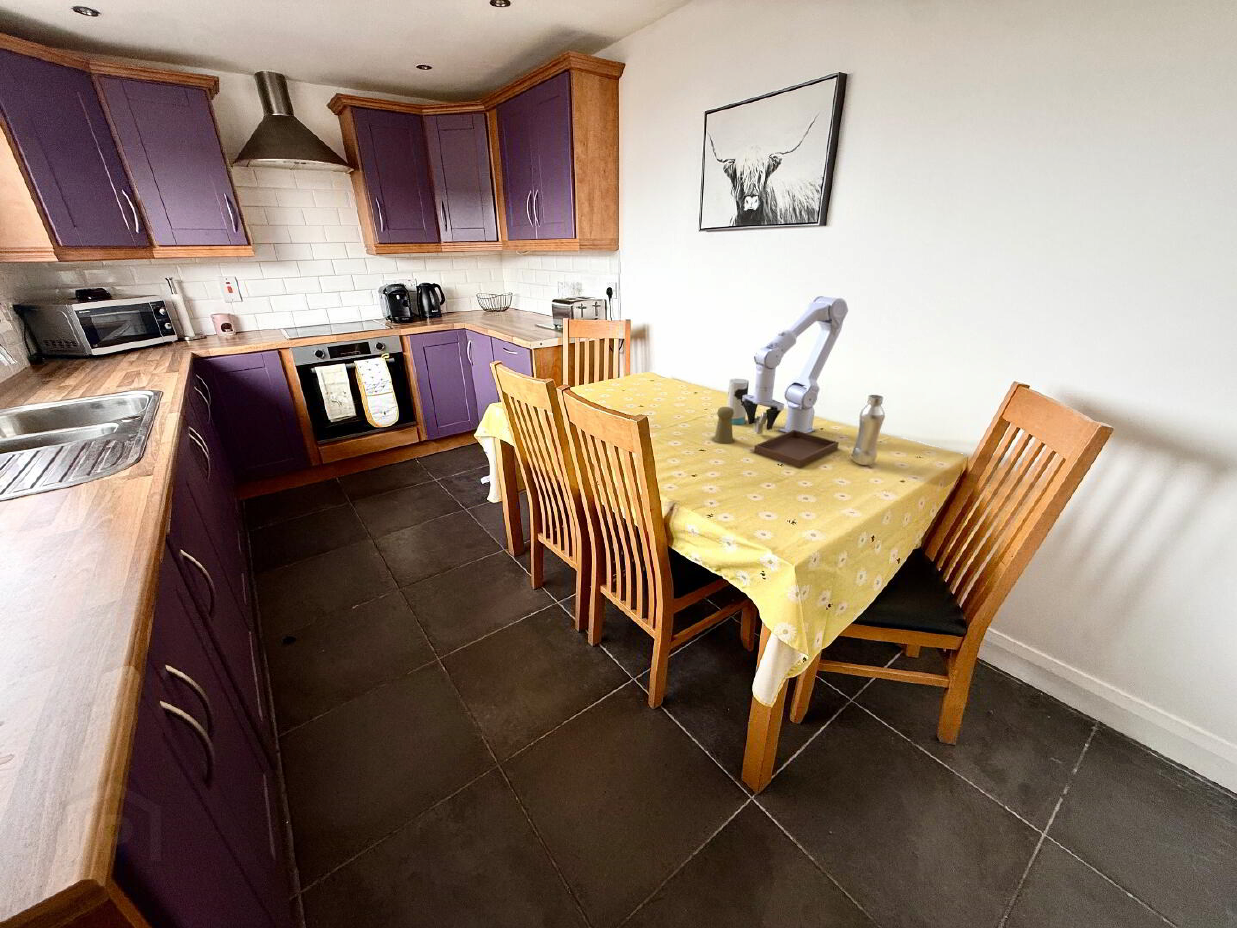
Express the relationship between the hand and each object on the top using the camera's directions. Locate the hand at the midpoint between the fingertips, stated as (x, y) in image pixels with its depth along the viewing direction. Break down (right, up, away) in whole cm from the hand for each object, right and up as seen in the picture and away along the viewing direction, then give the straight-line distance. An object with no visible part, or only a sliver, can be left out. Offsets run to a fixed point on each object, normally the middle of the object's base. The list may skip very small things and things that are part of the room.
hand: (760, 426), depth 165 cm
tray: (+8, -8, -10) cm, 16 cm away
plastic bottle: (+24, -12, -19) cm, 33 cm away
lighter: (0, -2, +1) cm, 3 cm away
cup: (-4, +3, +16) cm, 17 cm away
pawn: (-12, -5, -1) cm, 13 cm away
